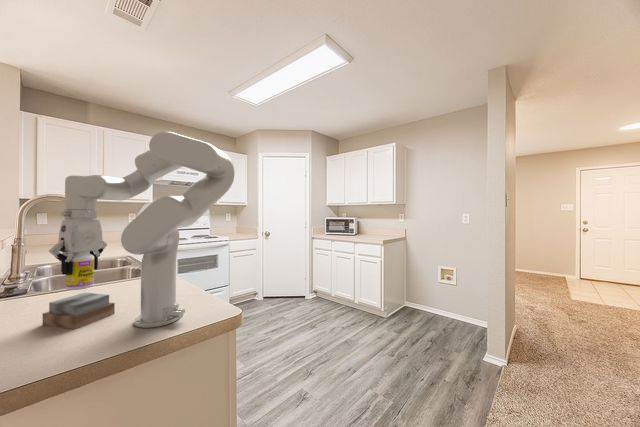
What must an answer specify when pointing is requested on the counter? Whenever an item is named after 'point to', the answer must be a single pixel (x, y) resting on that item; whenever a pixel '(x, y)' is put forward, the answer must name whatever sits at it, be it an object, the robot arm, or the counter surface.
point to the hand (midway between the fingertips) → (80, 271)
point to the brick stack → (78, 310)
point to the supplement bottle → (81, 271)
